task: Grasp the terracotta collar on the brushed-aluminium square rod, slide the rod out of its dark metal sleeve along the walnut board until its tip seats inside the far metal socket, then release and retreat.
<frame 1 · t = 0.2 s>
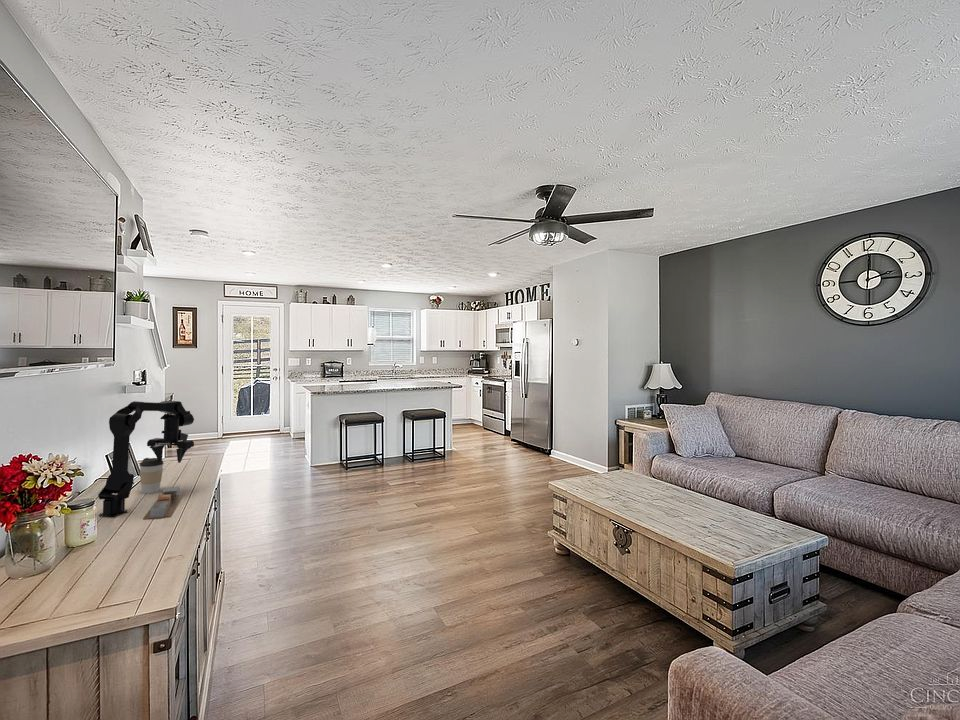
hand: (169, 462, 208), 14 cm above the sideboard top, fingers open, 9 cm apart
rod: (163, 502, 187), point 3 cm above the sideboard top, slide at 0.0 cm
tube base: (165, 506, 191), on the sideboard top
coffee cup: (150, 491, 209), on the sideboard top
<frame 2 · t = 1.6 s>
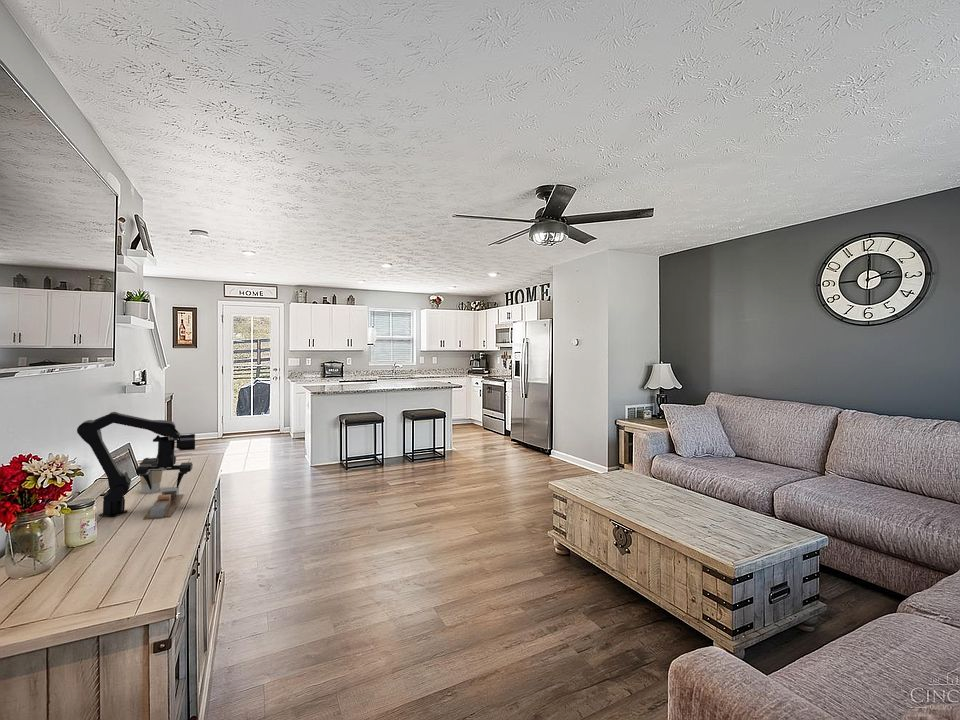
hand: (164, 488, 189), 8 cm above the sideboard top, fingers open, 9 cm apart
nothing on the sideboard top moved.
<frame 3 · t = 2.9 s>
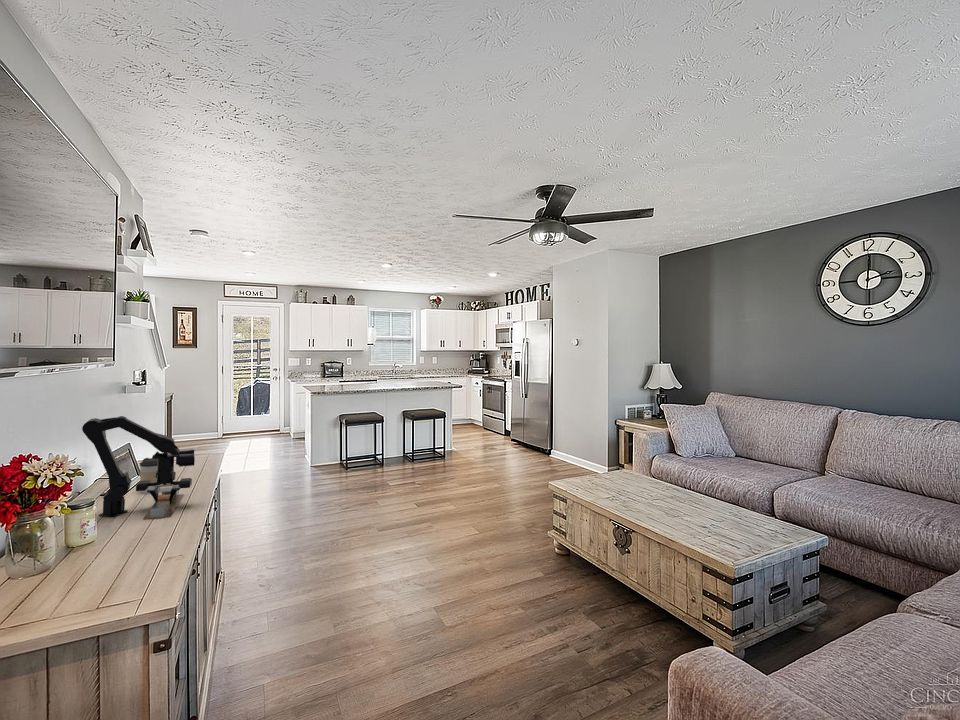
hand: (164, 504, 189), 1 cm above the sideboard top, fingers closed on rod, 4 cm apart
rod: (163, 502, 187), point 3 cm above the sideboard top, slide at 0.0 cm, touching gripper
everything else where it was.
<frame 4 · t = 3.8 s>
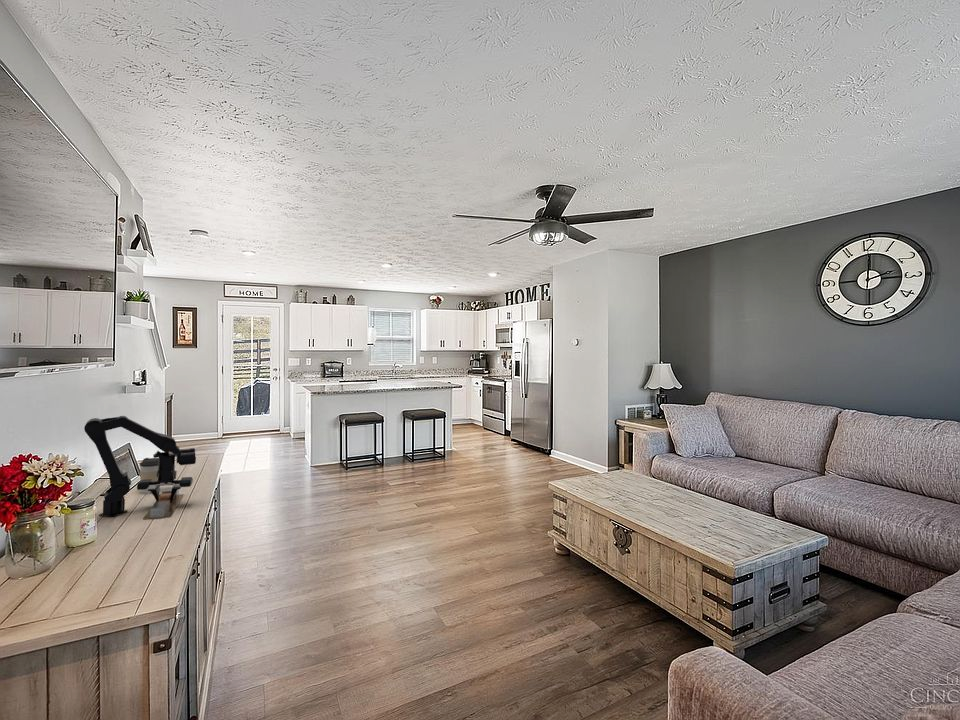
hand: (165, 503, 191), 1 cm above the sideboard top, fingers closed on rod, 4 cm apart
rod: (163, 501, 189), point 3 cm above the sideboard top, slide at 1.6 cm, touching gripper
everything else where it was.
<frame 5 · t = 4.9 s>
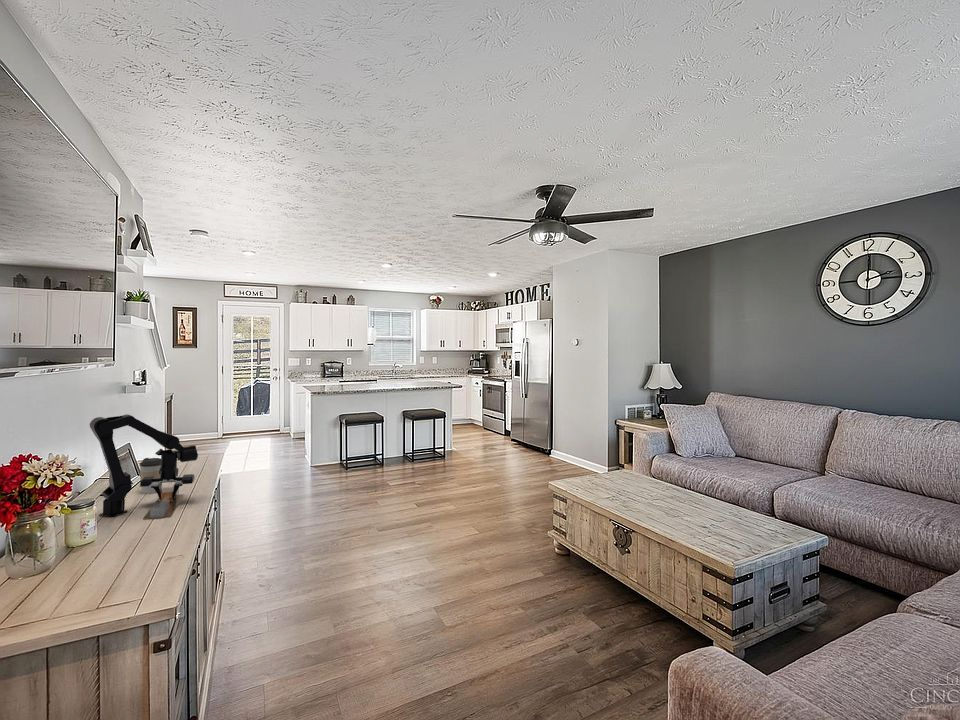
hand: (167, 500, 195), 1 cm above the sideboard top, fingers closed on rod, 4 cm apart
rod: (166, 498, 193), point 3 cm above the sideboard top, slide at 6.1 cm, touching gripper
everything else where it was.
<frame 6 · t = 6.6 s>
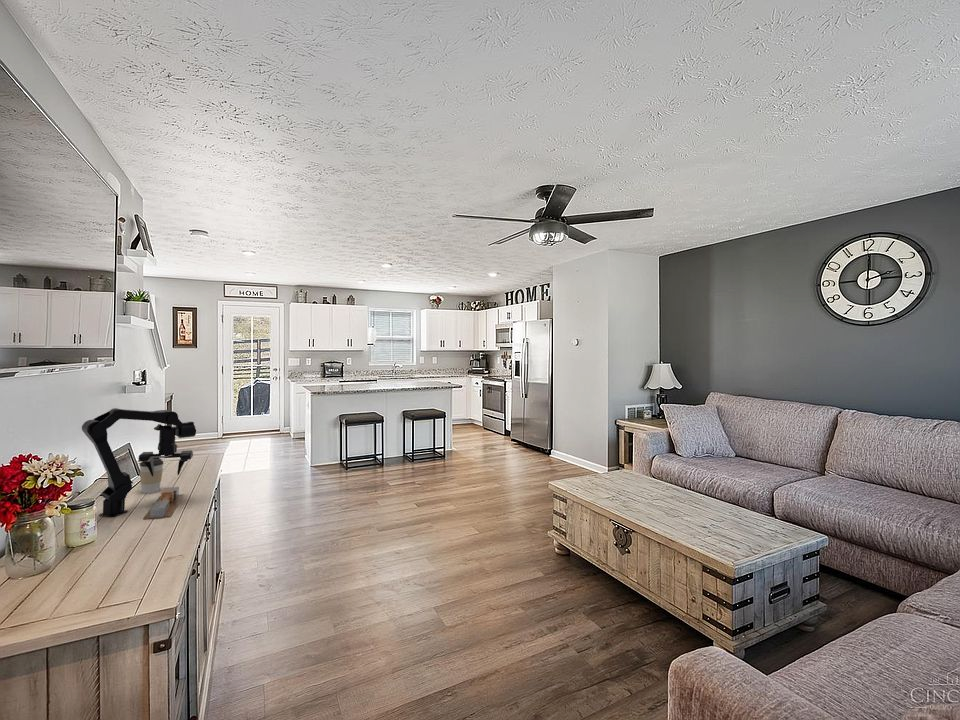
hand: (165, 475, 195), 12 cm above the sideboard top, fingers open, 9 cm apart
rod: (166, 498, 193), point 3 cm above the sideboard top, slide at 6.1 cm
everything else where it was.
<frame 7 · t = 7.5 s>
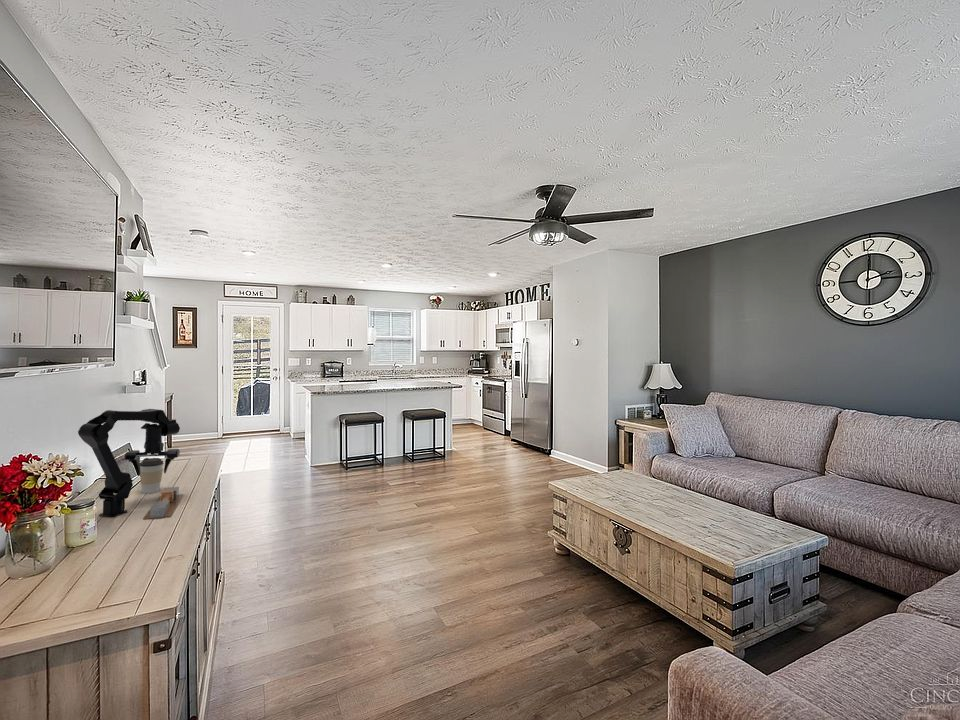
hand: (152, 473, 196), 12 cm above the sideboard top, fingers open, 9 cm apart
nothing on the sideboard top moved.
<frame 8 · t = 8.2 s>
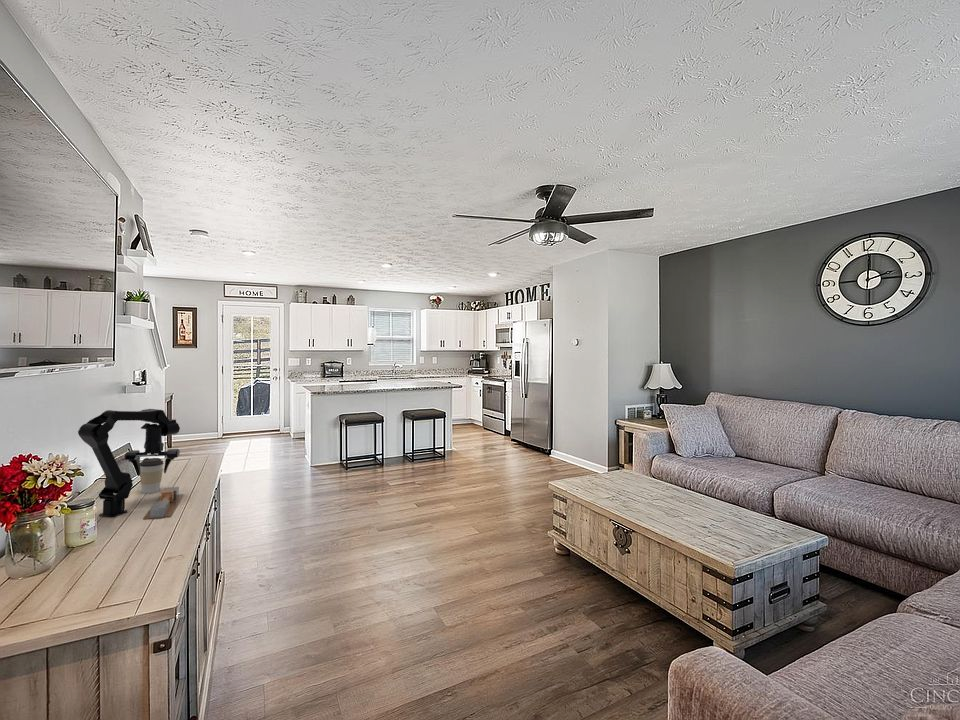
hand: (152, 473, 196), 12 cm above the sideboard top, fingers open, 9 cm apart
nothing on the sideboard top moved.
at the end: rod slide at 6.1 cm; the gripper is holding nothing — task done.
